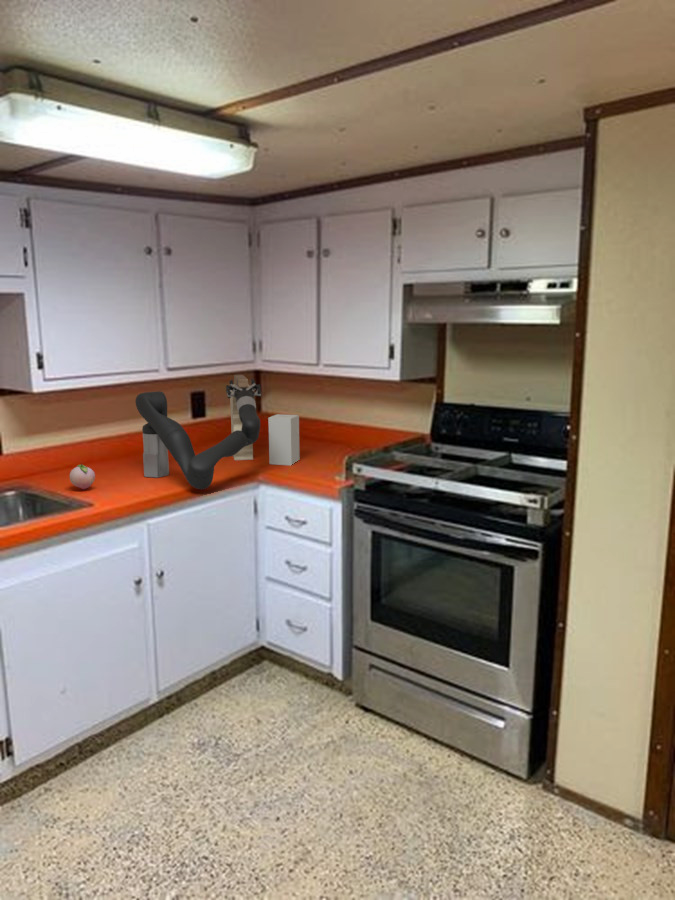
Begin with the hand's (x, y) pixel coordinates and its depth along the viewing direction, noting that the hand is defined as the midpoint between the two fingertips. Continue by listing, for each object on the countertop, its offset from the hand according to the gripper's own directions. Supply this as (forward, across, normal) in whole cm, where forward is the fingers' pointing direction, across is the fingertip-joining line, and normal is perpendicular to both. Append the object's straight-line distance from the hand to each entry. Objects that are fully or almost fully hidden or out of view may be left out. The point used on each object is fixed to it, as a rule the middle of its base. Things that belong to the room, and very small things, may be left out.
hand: (241, 380), depth 291 cm
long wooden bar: (+3, 0, -5) cm, 6 cm away
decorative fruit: (-47, -63, -14) cm, 79 cm away
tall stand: (-10, 0, -34) cm, 36 cm away
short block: (-23, +16, -27) cm, 39 cm away
